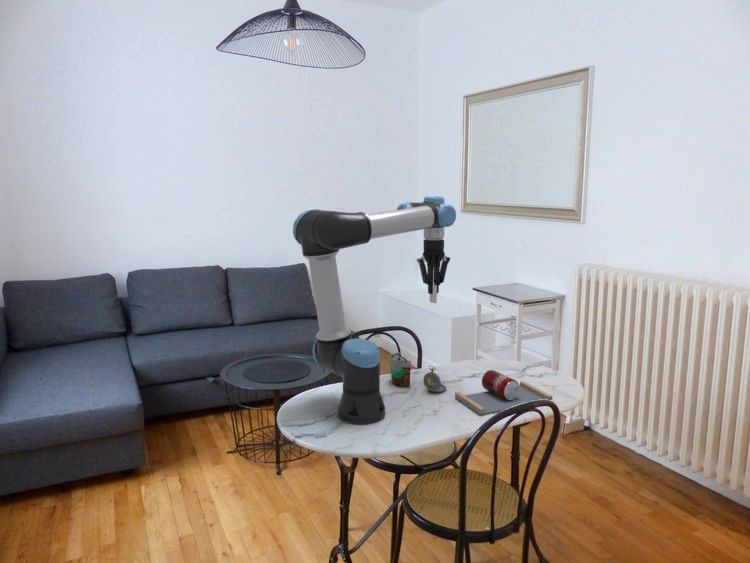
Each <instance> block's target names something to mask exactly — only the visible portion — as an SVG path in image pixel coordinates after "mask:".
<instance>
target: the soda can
mask: <svg viewBox="0 0 750 563" xmlns="http://www.w3.org/2000/svg"><path fill="white" fill-rule="evenodd" d="M481 386H482V387H483V389H485V391H490V392H492V393H494V394H496V395H498V396H500V397H502V398H504V399H505V400H513V399H514V398H516V397H517V395H518V393H519V390H520V387H519V386H520V382H518V381H517V380H516V379H514V378H512V377H509V376H508V375H505V374H503V373H501V372H499V371H497V370H494V369H490V370H487V371H486V372H485V373H484V374H483V376H482V378H481Z"/></svg>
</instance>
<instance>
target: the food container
mask: <svg viewBox="0 0 750 563" xmlns="http://www.w3.org/2000/svg"><path fill="white" fill-rule="evenodd" d="M388 364H389V365H390V376H391V377H390V378H391V385H393V386H395V387H397V388H410V386H411V368H412V361H411V360H409V361H408V360H407V358H406V357H404V356H402V355H401V352H393V353H392V354H390V355H389V357H388Z"/></svg>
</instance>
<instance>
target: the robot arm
mask: <svg viewBox="0 0 750 563" xmlns="http://www.w3.org/2000/svg"><path fill="white" fill-rule="evenodd" d="M445 202H446V201H445V198H444V197H443V196H441V195H440V196H438V195H429V196H428V195H427V196H424V198H423V202H405V203H400V204H398V206H397V208H396V210H388V211H382V212H376V213H375V212H374V213H369V214H368V213H366V212H363V211H361V212H343V211H336V210H335V211H334V210H321V209H307V210H305V211H302V212H301V213H300V214H299V215H298V216H297V217H296V219H295V220H294V222H293V225H292V235H293V238H294V240H295V241H296V242H297V244H299V245H300V246H301V251H302V256H303V257H304V258H305V259H307V260H308V265H309V270H310V277H311V283H312V291H313V295H314V301H315V302H314V303H315V307H316V308H315V309H316V315H317V322H318V327H319V330H318V332H317V333H316V335H315V341H314V343H313V346H312V356H313V359H314V361H315V363H316V364H317V365H318V366H320V367H321V368H322V369H324V370H325V371H328V372H331V373H333V374H335V375H337V376H339V377H341V378H342V393H341V397H340V398H339V403H338V407H337V417H338V419H339V418H340V419H339V420H341V421H342V420H343V422H344V421H346V422H345V423H347V422H349V423H348V424H352V423H354V425H368V424H369V423H370V424H373V423H377V422H380V421H381V420H383V419H384V418H385V417H386V406H385V403H384V399H383V397H382V393H381V390H380V389H381V388H380V384H381V383H380V382H381V380H380V379H381V371H380V370H381V368H380V367H381V365H380V364H381V363H380V362H381V355H380V348H379V346H378V345H377V344H376V343H375V342H373V341H371V340H369V339H362V338H353V336H352V330H351V328H349V327H348V326H347V325H346V321H345V320H346V318H345V312H344V308H343V307H344V306H343V301H342V300H343V298H342V292H341V287H340V286H341V285H340V278H339V273H338V272H339V271H338V265H337V264H338V263H337V258H336V256H337V254H338V253H339V252H340V250H342V249H343V250H344V249H347V248H352V247H356V246H359V245H360V246H361V245H364V244H368V243H369V242H370V241H371V240H373V239H378V238H379V239H380V238H384V237H389V236H394V235H400V234H404V233H410V232H416V231H420V230H421V231H422V230H423V238H424V240H423V252H422V256H421V257H419V258H416V262H417V263H418V266H419V270H420V275H421V280H422V283H424V284H425V285H427V293H428V294H429V302H430V303H431V304H436V303H437V301H438V297H437V296H438V294H439V293H440V292H439V288H440V285H441V284H443V283H445V277H446V275H447V274H446V273H447V268H448V264H449V263H450V260H451V257H450V256H447V255H446V254H445V251H444V250H445V240H444V238H445V228H449V227H451V226H453V225H454V224H455V222H456V219H457V211H456V209H455V207H454V206H453V205H452V204H447V203H445Z"/></svg>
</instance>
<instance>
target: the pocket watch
mask: <svg viewBox="0 0 750 563" xmlns="http://www.w3.org/2000/svg"><path fill="white" fill-rule="evenodd" d="M428 369H429V370H430V371H429V372H427V373H425V374H424V376H423V385H424V386H425V388H426V389H427V390H428V391H429V392H431V393H443V392H445V391H447V386H446V385H444V384H442V381H441V378H440V376H439V375H438V374H437V373H435V372H434V371H436V367H435V366H433V365H429V366H428Z"/></svg>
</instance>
